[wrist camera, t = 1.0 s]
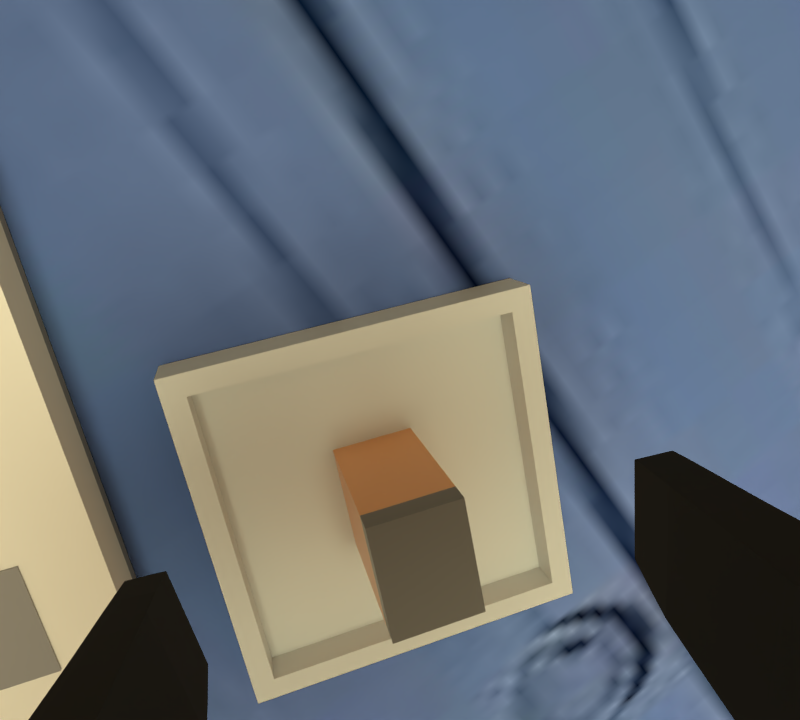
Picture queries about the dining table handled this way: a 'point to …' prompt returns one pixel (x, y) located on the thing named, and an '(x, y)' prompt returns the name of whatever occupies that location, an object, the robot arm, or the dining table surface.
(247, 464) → the tray
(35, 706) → the power strip
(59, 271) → the dining table surface
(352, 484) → the plug
